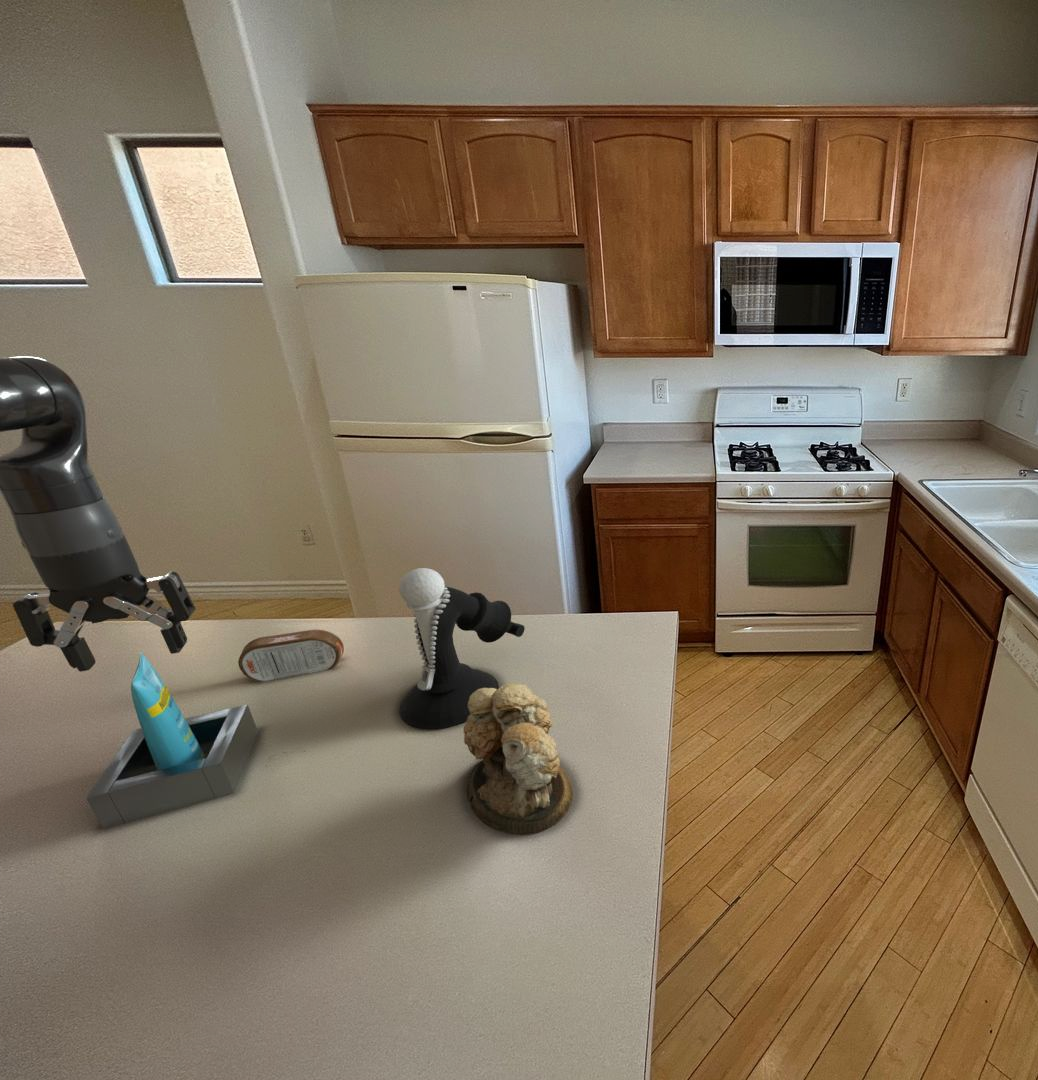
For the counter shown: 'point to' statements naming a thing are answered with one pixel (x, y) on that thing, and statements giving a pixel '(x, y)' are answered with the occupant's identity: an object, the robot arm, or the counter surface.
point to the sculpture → (448, 648)
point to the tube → (162, 720)
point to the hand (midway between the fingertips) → (134, 658)
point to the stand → (175, 770)
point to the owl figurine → (514, 761)
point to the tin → (290, 654)
